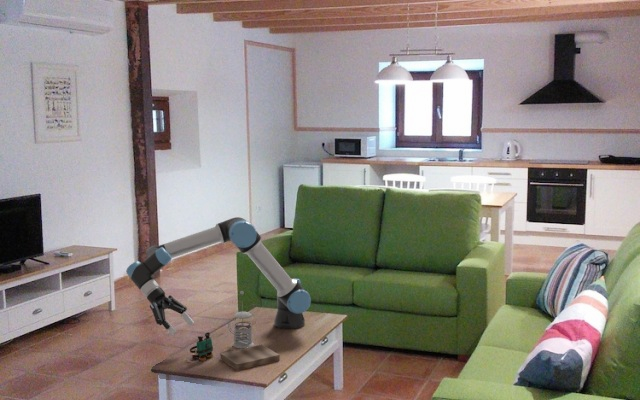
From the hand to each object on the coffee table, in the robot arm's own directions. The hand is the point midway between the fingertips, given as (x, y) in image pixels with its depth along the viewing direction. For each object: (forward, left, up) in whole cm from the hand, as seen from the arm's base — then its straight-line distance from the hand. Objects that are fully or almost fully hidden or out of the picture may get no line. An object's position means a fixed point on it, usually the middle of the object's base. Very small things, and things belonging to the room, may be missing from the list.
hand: (183, 329), depth 297 cm
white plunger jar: (-27, +1, -12) cm, 30 cm away
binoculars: (-5, +6, -12) cm, 15 cm away
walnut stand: (-21, +21, -12) cm, 32 cm away
